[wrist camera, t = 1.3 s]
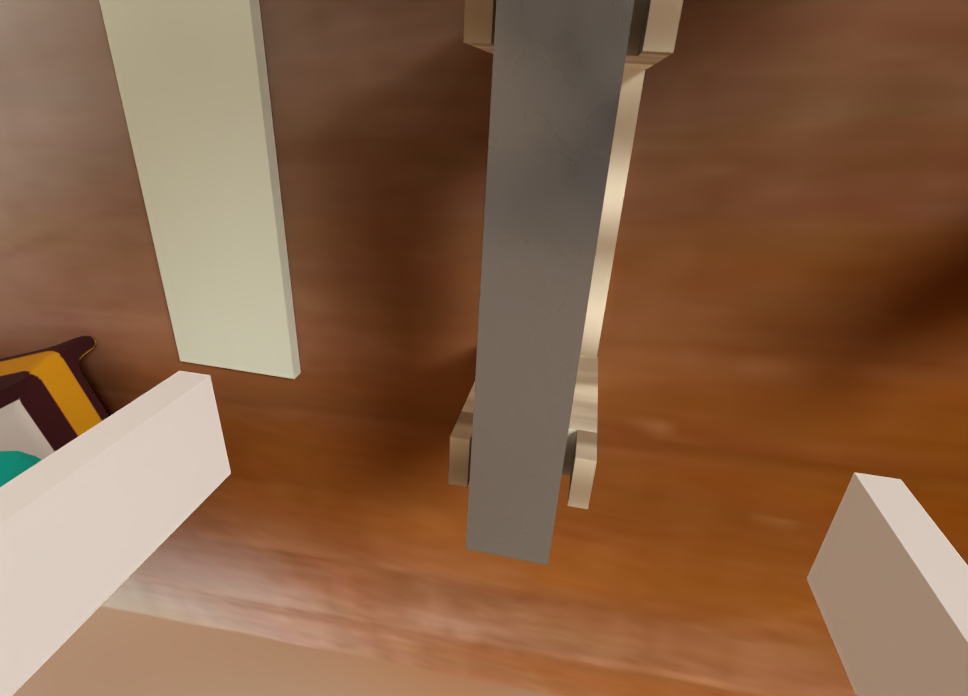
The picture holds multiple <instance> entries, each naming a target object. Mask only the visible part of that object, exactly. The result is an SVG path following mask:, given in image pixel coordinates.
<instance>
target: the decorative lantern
mask: <svg viewBox="0 0 968 696" xmlns="http://www.w3.org/2000/svg"><path fill="white" fill-rule="evenodd" d="M96 344H97V342H96V340H95V339H94V338H93V337H90V336H81V337H78V338H75V339H72V340H69V341H67V342H64V343H62V344H59V345H57V346H53V347H50V348H47V349H43V350H39V351H34V352H30V353H26V354H21V355H17V356H13V357H8V358H4V359H0V487H1V486H3V485H5V484H6V483H8V482H9V481H11V480H12V479H14V478H15V477H17V476H18V475H20V474H21V473H23V472H25V471H26V470H28V469H29V468H31V467H32V466H34V465H35V464H37V463H38V462H40V461H41V460H43V459H45V458H46V457H48V456H49V455H51V454H52V453H54V452H55V451H57V450H58V449H60V448H61V447H63V446H65V445H66V444H68V443H69V442H71V441H72V440H74V439H75V438H77V437H78V436H80V435H81V434H83V433H85V432H86V431H88V430H89V429H91V428H92V427H94V426H95V425H97V424H98V423H100V422H101V421H103V420H105V419H106V418H108V417H109V415H108V414H107V412H106V410H105V409H104V407H103V405H102V404H101V402H100V401H99V399H98V397H97V396H96V394H95V393H94V391H93V389H92V388H91V386H90V385H89V383H88V381H87V380H86V378H85V377H84V375H83V373H82V372H81V369H80V366H79V360H80V359H81V358H82V357H83V356H84V355H85V354H87V353H88V352H89V351H91V350H92V349H94V348H95V346H96Z"/></svg>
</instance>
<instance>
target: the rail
mask: <svg viewBox="0 0 968 696" xmlns="http://www.w3.org/2000/svg"><path fill="white" fill-rule="evenodd" d="M633 7H634V0H496V17H495V35H494V53H493V71H492V89H491V106H490V124H489V142H488V160H487V178H486V196H485V214H484V232H483V250H482V267H481V285H480V303H479V321H478V339H477V357H476V375H475V393H474V410H473V428H472V446H471V464H470V482H469V500H468V518H467V536H466V549H470V550H475V551H480V552H485V553H490V554H495V555H500V556H505V557H510V558H515V559H520V560H525V561H530V562H535V563H539V564H544V565H548V561H549V554H550V548H551V541H552V535H553V528H554V522H555V515H556V509H557V502H558V496H559V489H560V483H561V476H562V470H563V463H564V457H565V450H566V443H567V437H568V430H569V424H570V417H571V411H572V404H573V398H574V391H575V385H576V378H577V372H578V365H579V359H580V352H581V346H582V339H583V333H584V326H585V320H586V313H587V307H588V300H589V293H590V287H591V280H592V274H593V267H594V261H595V254H596V248H597V241H598V235H599V228H600V222H601V215H602V209H603V202H604V196H605V189H606V183H607V176H608V170H609V163H610V157H611V150H612V144H613V137H614V130H615V124H616V117H617V111H618V104H619V98H620V91H621V85H622V78H623V72H624V65H625V59H626V52H627V46H628V39H629V33H630V26H631V20H632V13H633Z"/></svg>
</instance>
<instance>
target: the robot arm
mask: <svg viewBox="0 0 968 696" xmlns="http://www.w3.org/2000/svg"><path fill="white" fill-rule="evenodd" d="M230 474H231V471H230V466H229V461H228V457H227V452H226V447H225V443H224V438H223V433H222V429H221V424H220V419H219V415H218V410H217V405H216V401H215V396H214V391H213V387H212V382H211V377H210V375H205V374H198V373H192V372H185V371H178V372H177V373H175V374H174V375H172V376H171V377H169V378H168V379H166V380H164V381H163V382H161V383H160V384H158V385H157V386H155V387H154V388H152V389H151V390H149V391H148V392H146V393H144V394H143V395H141V396H140V397H138V398H137V399H135V400H134V401H132V402H131V403H129V404H128V405H126V406H125V407H123V408H121V409H120V410H118V411H117V412H115V413H114V414H112V415H111V416H109V417H108V418H106V419H105V420H103V421H101V422H100V423H98V424H97V425H95V426H94V427H92V428H91V429H89V430H88V431H86V432H85V433H83V434H81V435H80V436H78V437H77V438H75V439H74V440H72V441H71V442H69V443H68V444H66V445H65V446H63V447H61V448H60V449H58V450H57V451H55V452H54V453H52V454H51V455H49V456H48V457H46V458H45V459H43V460H41V461H40V462H38V463H37V464H35V465H34V466H32V467H31V468H29V469H28V470H26V471H25V472H23V473H21V474H20V475H18V476H17V477H15V478H14V479H12V480H11V481H9V482H8V483H6V484H5V485H3V486H1V487H0V696H12V695H13V694H14V693H15V692H16V691H17V690H18V689H19V688H20V687H21V686H22V685H23V684H24V683H25V682H26V681H27V680H28V679H29V678H30V677H31V676H32V675H33V674H34V673H35V672H36V671H37V670H38V669H39V668H40V667H41V666H42V665H43V664H44V663H45V662H46V661H47V660H48V659H49V658H50V657H51V655H53V654H54V653H55V652H56V651H57V650H58V649H59V647H60V646H61V645H63V643H65V641H66V640H67V639H68V638H69V637H70V636H71V635H72V634H73V633H74V632H75V631H76V630H77V629H78V628H79V627H80V626H81V625H82V624H83V623H84V622H85V621H86V620H87V619H88V618H89V617H90V616H91V615H92V614H93V613H94V612H95V611H96V610H97V609H98V608H99V607H100V606H101V605H102V604H103V603H104V602H105V601H106V600H107V599H108V598H109V597H110V596H111V595H112V594H113V593H114V592H115V591H116V590H117V589H118V588H119V587H120V586H121V585H122V584H123V583H124V582H125V581H126V580H127V578H128V577H129V576H130V575H131V574H132V573H133V572H134V571H135V570H136V569H137V568H138V567H139V566H140V565H141V564H142V563H143V562H144V561H145V560H146V559H147V558H148V557H149V556H150V555H151V554H152V553H153V552H154V551H155V550H156V549H157V548H158V547H159V546H160V545H161V544H162V543H163V542H164V541H165V540H166V539H167V538H168V537H169V536H170V535H171V534H172V533H173V532H174V531H175V530H176V529H177V528H178V527H179V526H180V525H181V524H182V523H183V522H184V521H185V520H186V519H187V518H188V517H189V515H190V514H191V513H192V512H193V511H194V510H195V509H196V508H197V507H198V506H199V505H200V504H201V503H202V502H203V501H204V500H205V499H206V498H207V497H208V496H209V495H210V494H211V493H212V492H213V491H214V490H215V489H216V488H217V487H218V486H219V485H220V484H221V483H222V482H223V481H224V480H225V479H226V478H227V477H228V476H229V475H230ZM807 580H808V583H809V585H810V588H811V590H812V592H813V595H814V597H815V599H816V602H817V604H818V607H819V609H820V611H821V614H822V616H823V618H824V621H825V623H826V626H827V628H828V630H829V633H830V635H831V637H832V640H833V642H834V645H835V647H836V649H837V652H838V654H839V656H840V659H841V661H842V663H843V666H844V668H845V671H846V673H847V675H848V678H849V680H850V682H851V685H852V687H853V690H854V692H855V694H856V696H968V565H967V564H966V563H965V562H964V560H963V559H962V558H961V556H960V555H959V554H958V553H957V551H956V550H955V549H954V547H953V546H952V545H951V544H950V542H949V541H948V540H947V538H946V537H945V536H944V535H943V533H942V532H941V531H940V529H939V528H938V527H937V525H936V524H935V523H934V522H933V520H932V519H931V518H930V516H929V515H928V514H927V513H926V511H925V510H924V509H923V507H922V506H921V505H920V504H919V502H918V501H917V500H916V498H915V497H914V496H913V495H912V493H911V492H910V491H909V489H908V488H907V487H906V486H905V484H904V483H903V482H902V480H901V479H895V478H888V477H881V476H875V475H868V474H861V473H855V472H854V474H853V476H852V479H851V481H850V483H849V485H848V488H847V490H846V492H845V494H844V497H843V499H842V501H841V503H840V506H839V508H838V510H837V512H836V514H835V517H834V519H833V521H832V523H831V526H830V528H829V530H828V532H827V535H826V537H825V539H824V541H823V543H822V546H821V548H820V550H819V552H818V555H817V557H816V559H815V561H814V564H813V566H812V568H811V570H810V572H809V575H808V577H807Z"/></svg>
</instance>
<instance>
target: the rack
mask: <svg viewBox="0 0 968 696" xmlns="http://www.w3.org/2000/svg"><path fill="white" fill-rule="evenodd" d="M682 4H683V0H634V7H633V13H632V20H631V26H630V33H629V39H628V46H627V52H626V59H625V65H624V72H623V78H622V85H621V91H620V98H619V104H618V111H617V117H616V124H615V130H614V137H613V144H612V150H611V157H610V163H609V170H608V176H607V183H606V189H605V196H604V202H603V209H602V215H601V222H600V228H599V235H598V241H597V248H596V254H595V261H594V267H593V274H592V280H591V287H590V293H589V300H588V307H587V313H586V320H585V326H584V333H583V339H582V346H581V352H580V359H579V365H578V372H577V378H576V385H575V391H574V398H573V404H572V411H571V417H570V424H569V430H568V437H567V443H566V450H565V457H564V463H563V470H562V474H565V475H570V483H569V495H568V506H572V507H578V508H583V509H588V505H589V500H590V494H591V489H592V484H593V478H594V473H595V468H596V462H597V400H598V358H597V352H598V346H599V340H600V334H601V328H602V323H603V317H604V311H605V305H606V299H607V293H608V287H609V281H610V275H611V269H612V264H613V258H614V252H615V246H616V240H617V234H618V228H619V222H620V216H621V210H622V204H623V199H624V193H625V187H626V181H627V175H628V169H629V163H630V157H631V151H632V145H633V139H634V134H635V128H636V122H637V116H638V110H639V104H640V98H641V92H642V86H643V80H644V74H645V69H648V68H650V67H651V66H653V65H654V64H656V63H658V62H659V61H661V60H662V59H664V58H666V57H667V56H669V55H670V54H672V53H673V52H674V47H675V42H676V36H677V31H678V26H679V20H680V15H681V10H682ZM495 17H496V0H465V7H464V37H463V42H464V43H466V44H469V45H471V46H474V47H476V48H479V49H481V50H484V51H486V52H489V53H491V54H493V53H494V35H495ZM474 393H475V382H474V384H473V386H472V389H471V391H470V393H469V395H468V398H467V400H466V402H465V404H464V407H463V409H462V411H461V413H460V416H459V418H458V420H457V422H456V425H455V427H454V429H453V431H452V434H451V436H450V454H449V484H452V485H457V486H463V487H467V486H468V483H469V481H470V464H471V446H472V428H473V410H474Z"/></svg>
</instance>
